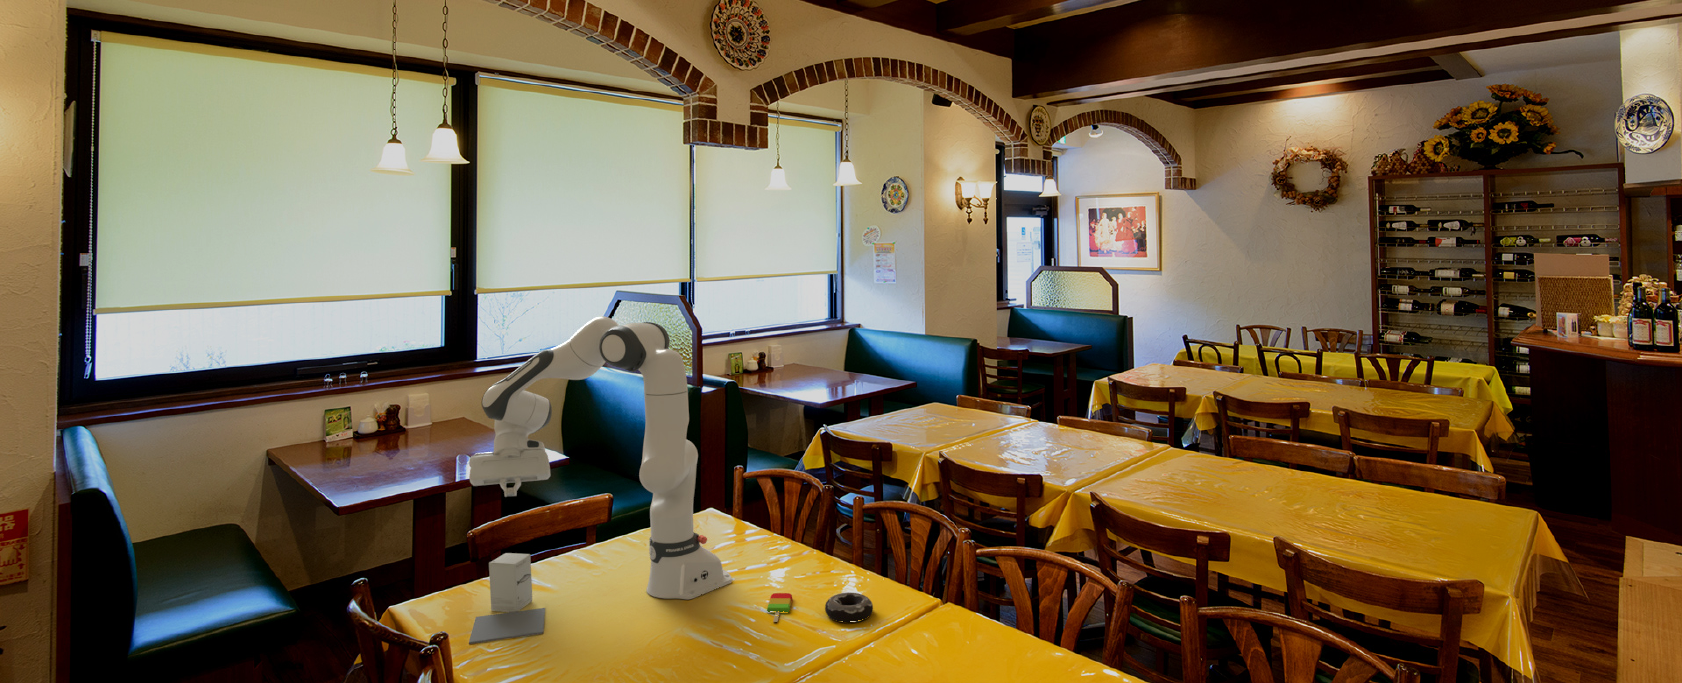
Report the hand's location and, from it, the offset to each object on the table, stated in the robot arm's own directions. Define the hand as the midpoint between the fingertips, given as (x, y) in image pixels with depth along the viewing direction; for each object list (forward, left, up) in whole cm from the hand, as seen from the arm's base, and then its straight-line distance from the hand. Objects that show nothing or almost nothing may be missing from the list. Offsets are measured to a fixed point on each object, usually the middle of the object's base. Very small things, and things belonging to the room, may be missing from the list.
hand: (510, 495), depth 218 cm
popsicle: (-47, +57, -26) cm, 78 cm away
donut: (-59, +70, -26) cm, 95 cm away
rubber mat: (+8, +23, -25) cm, 35 cm away
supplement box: (+4, +12, -26) cm, 28 cm away
